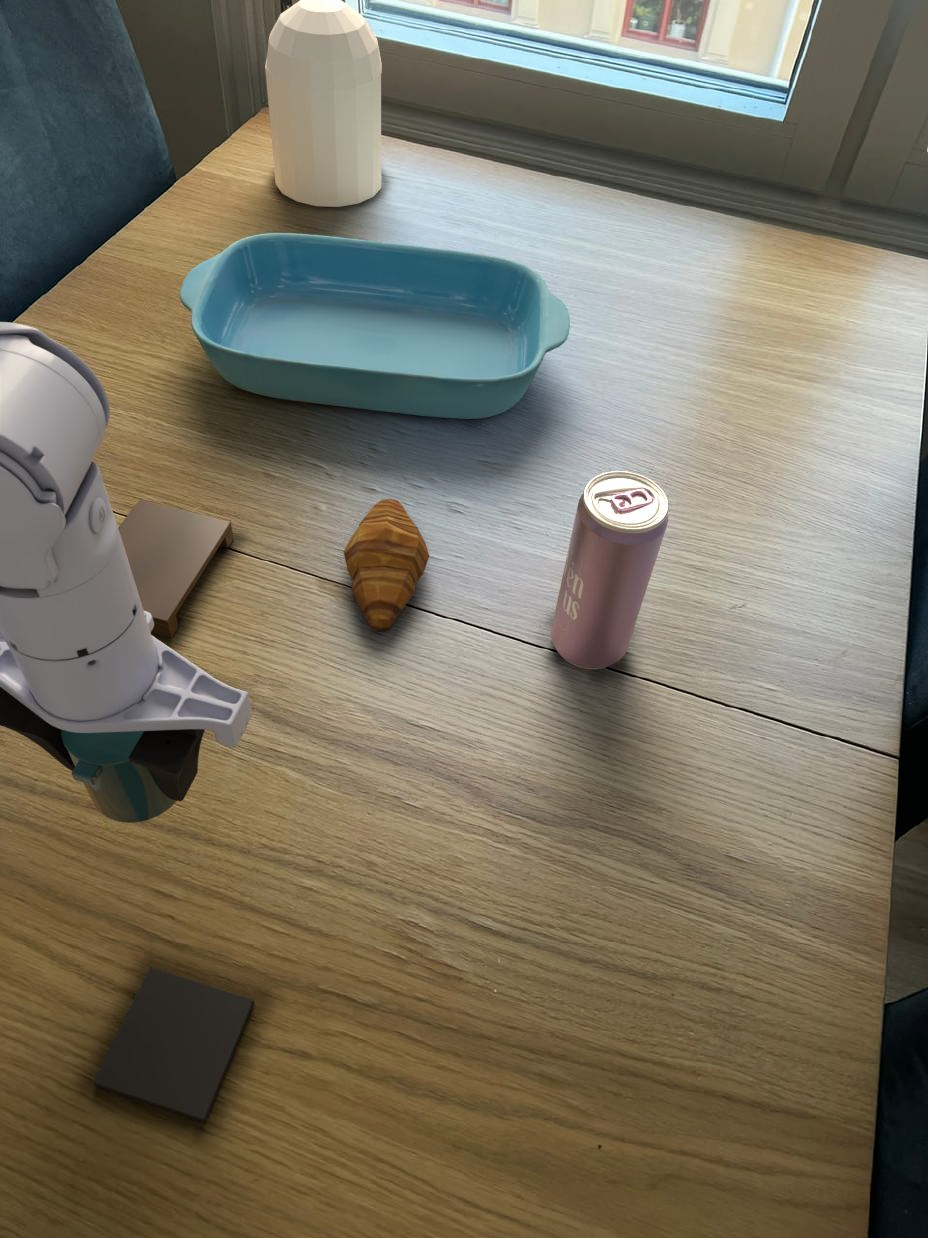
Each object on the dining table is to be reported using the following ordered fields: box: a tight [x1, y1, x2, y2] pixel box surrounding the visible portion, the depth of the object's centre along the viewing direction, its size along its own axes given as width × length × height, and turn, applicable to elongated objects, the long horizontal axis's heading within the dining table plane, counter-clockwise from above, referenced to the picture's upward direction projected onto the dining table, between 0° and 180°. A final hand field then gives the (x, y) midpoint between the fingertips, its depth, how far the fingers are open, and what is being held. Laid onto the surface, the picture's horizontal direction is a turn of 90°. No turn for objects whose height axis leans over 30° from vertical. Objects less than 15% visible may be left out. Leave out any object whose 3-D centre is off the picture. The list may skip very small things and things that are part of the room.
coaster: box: [92, 967, 255, 1122], centre depth 51 cm, size 6×6×1 cm
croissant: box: [343, 498, 430, 632], centre depth 73 cm, size 14×7×5 cm, turn 0°
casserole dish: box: [179, 232, 571, 420], centre depth 91 cm, size 37×22×7 cm, turn 86°
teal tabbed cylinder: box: [61, 729, 177, 824], centre depth 50 cm, size 5×8×6 cm
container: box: [264, 0, 383, 208], centre depth 110 cm, size 13×13×20 cm
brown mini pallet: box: [118, 498, 234, 638], centre depth 73 cm, size 8×11×2 cm
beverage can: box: [550, 470, 670, 670], centre depth 66 cm, size 6×6×15 cm
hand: (135, 771), depth 51 cm, fingers closed on teal tabbed cylinder, 5 cm apart
